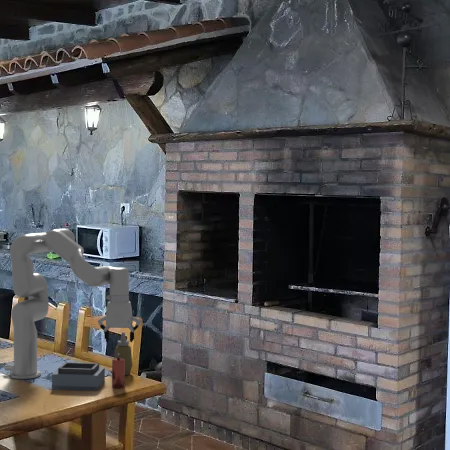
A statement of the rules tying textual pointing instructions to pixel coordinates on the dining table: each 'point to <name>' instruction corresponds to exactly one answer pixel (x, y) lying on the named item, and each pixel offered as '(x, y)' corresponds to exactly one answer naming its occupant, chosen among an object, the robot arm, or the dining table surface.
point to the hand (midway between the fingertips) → (119, 341)
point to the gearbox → (78, 376)
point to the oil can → (118, 372)
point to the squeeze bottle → (124, 353)
